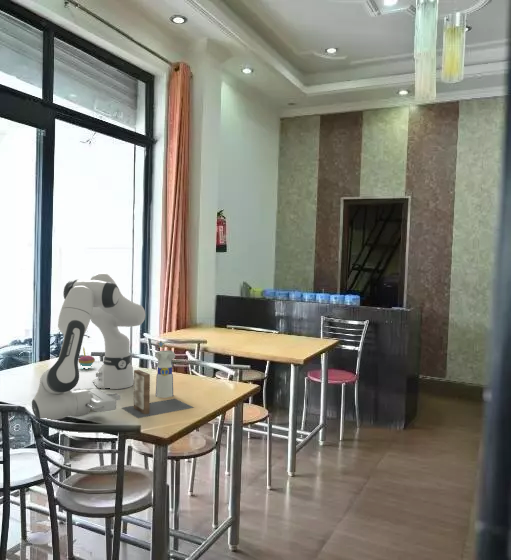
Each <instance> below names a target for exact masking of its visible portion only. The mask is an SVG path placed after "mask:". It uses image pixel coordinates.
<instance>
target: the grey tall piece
mask: <svg viewBox="0 0 511 560" xmlns="http://www.w3.org/2000/svg"><path fill="white" fill-rule="evenodd" d="M164 344H166V343H164V342H163V341H162V340H160V342H157V345H158V349H160V348H164ZM155 358H156V359H157V361H158V362H157V365H156V367H157V374H156V379H155V380H156V384H155V397H156V398H166V399H167V398H171V397H174V375H173V367H174V365H173V362H172V360H174V359H175V358H176V354H175V352H174V351H173V350H158V351H156V354H155Z"/></svg>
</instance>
